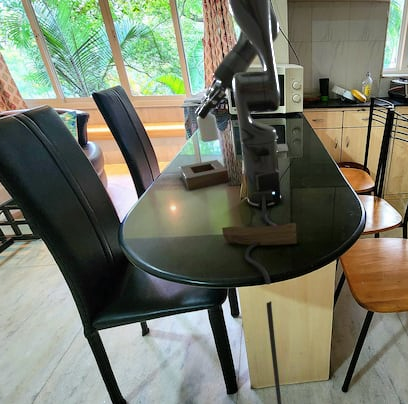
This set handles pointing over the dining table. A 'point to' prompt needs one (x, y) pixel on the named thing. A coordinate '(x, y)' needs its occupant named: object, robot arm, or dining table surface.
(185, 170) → the stand
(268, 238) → the wood plank
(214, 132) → the eye dropper bottle
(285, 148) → the platform
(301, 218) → the dining table surface
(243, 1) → the robot arm
